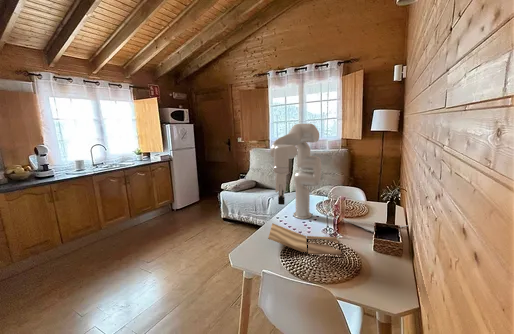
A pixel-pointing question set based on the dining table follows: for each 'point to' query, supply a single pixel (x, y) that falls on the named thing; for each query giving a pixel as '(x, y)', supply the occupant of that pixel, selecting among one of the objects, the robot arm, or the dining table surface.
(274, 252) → the dining table surface
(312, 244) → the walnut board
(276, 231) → the oak plank
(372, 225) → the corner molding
